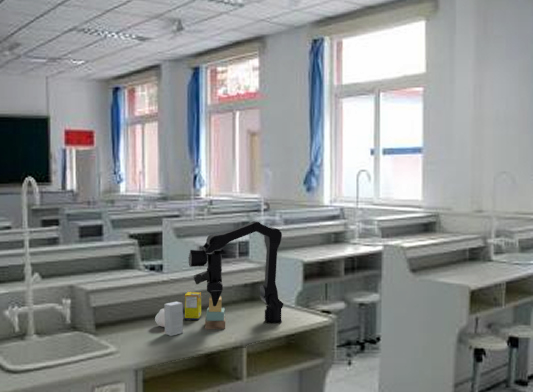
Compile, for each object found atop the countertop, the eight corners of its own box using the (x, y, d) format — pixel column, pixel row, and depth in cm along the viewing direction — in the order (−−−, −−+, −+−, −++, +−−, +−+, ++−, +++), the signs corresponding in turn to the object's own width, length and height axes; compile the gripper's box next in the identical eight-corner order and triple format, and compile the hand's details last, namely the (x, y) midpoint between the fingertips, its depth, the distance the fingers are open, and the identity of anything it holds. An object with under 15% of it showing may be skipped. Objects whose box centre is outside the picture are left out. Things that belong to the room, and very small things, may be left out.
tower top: (224, 316, 245) (224, 307, 244) (223, 320, 238) (223, 312, 237) (207, 316, 244) (207, 307, 244) (206, 320, 238) (206, 312, 237)
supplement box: (201, 316, 256) (201, 291, 255) (198, 320, 250) (198, 294, 249) (187, 316, 256) (187, 291, 256) (184, 319, 250) (184, 294, 250)
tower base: (225, 324, 245) (225, 315, 245) (225, 329, 237) (225, 321, 237) (205, 324, 245) (205, 316, 244) (205, 330, 237) (205, 321, 237)
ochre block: (221, 308, 243) (221, 296, 243) (221, 311, 238) (221, 299, 238) (209, 308, 243) (209, 296, 242) (209, 311, 238) (209, 299, 237)
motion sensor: (164, 323, 245) (163, 304, 245) (178, 325, 242) (178, 307, 241) (151, 327, 238) (151, 308, 238) (166, 330, 235) (166, 311, 234)
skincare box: (176, 330, 234) (176, 301, 233) (183, 333, 231) (183, 303, 230) (164, 333, 230) (163, 303, 229) (170, 336, 227) (170, 305, 226)
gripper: (195, 261, 248) (195, 298, 249) (194, 270, 229) (194, 309, 230) (221, 261, 249) (221, 297, 250) (222, 269, 230) (222, 308, 231)
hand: (214, 303), depth 240 cm, fingers open, 9 cm apart
